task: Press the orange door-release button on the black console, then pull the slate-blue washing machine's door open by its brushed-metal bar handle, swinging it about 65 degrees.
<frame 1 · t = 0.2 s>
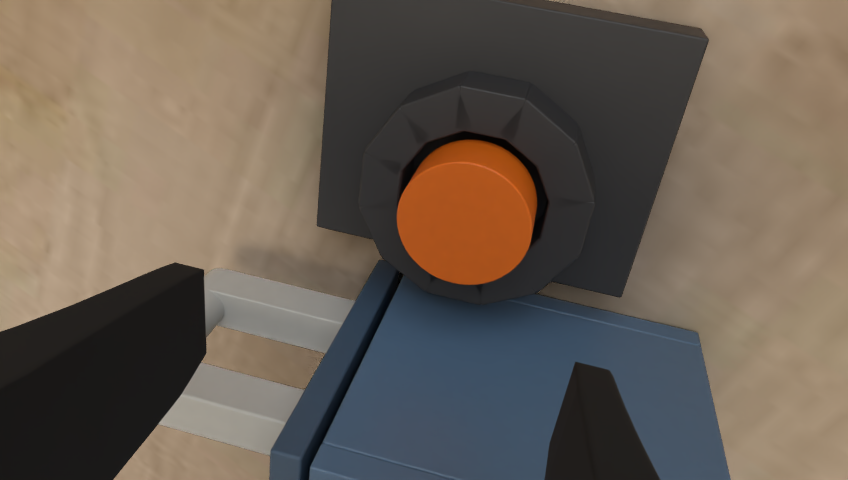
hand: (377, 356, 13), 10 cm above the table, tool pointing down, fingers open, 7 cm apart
washer: (510, 438, 27), on the table
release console: (493, 129, 21), on the table
release button: (468, 212, 19), point 4 cm above the table, slide at 0.1 cm
washer door: (253, 473, 23), point 5 cm above the table, hinge at 0.0°
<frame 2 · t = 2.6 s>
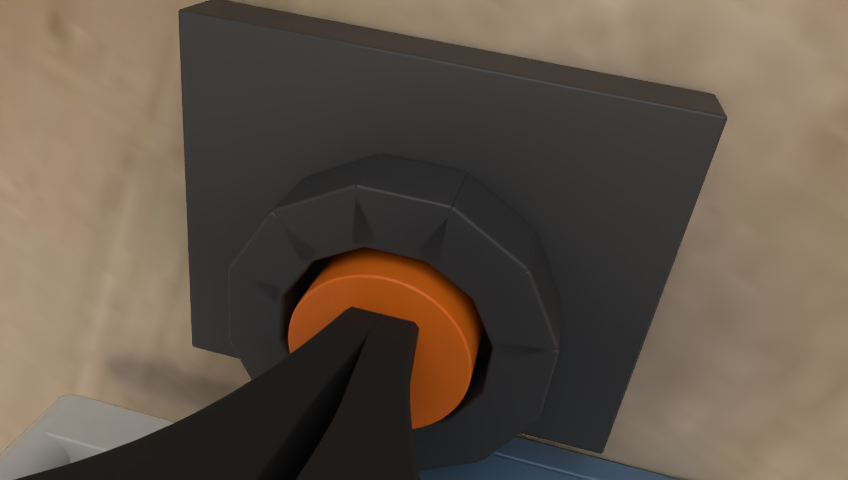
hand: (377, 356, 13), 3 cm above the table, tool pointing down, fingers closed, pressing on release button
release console: (424, 223, 15), on the table
release button: (389, 331, 14), point 3 cm above the table, slide at -0.8 cm, touching gripper
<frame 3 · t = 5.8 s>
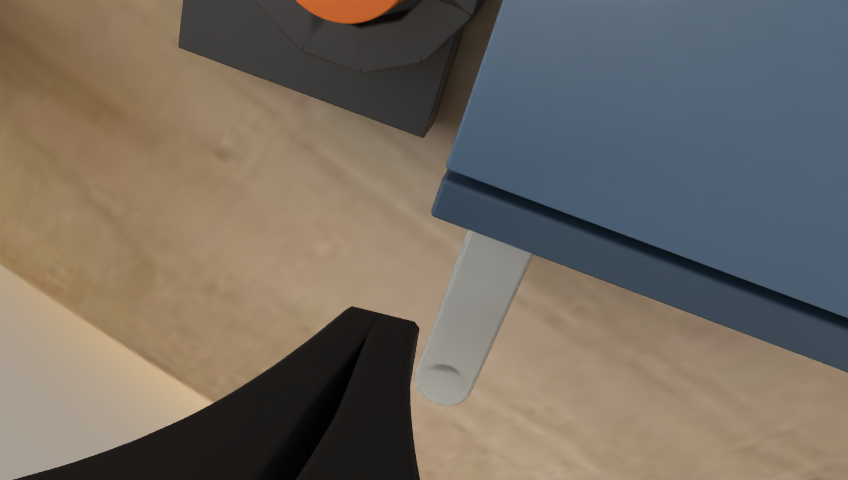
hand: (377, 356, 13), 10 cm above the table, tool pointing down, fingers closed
washer door: (691, 313, 17), point 5 cm above the table, hinge at 0.0°
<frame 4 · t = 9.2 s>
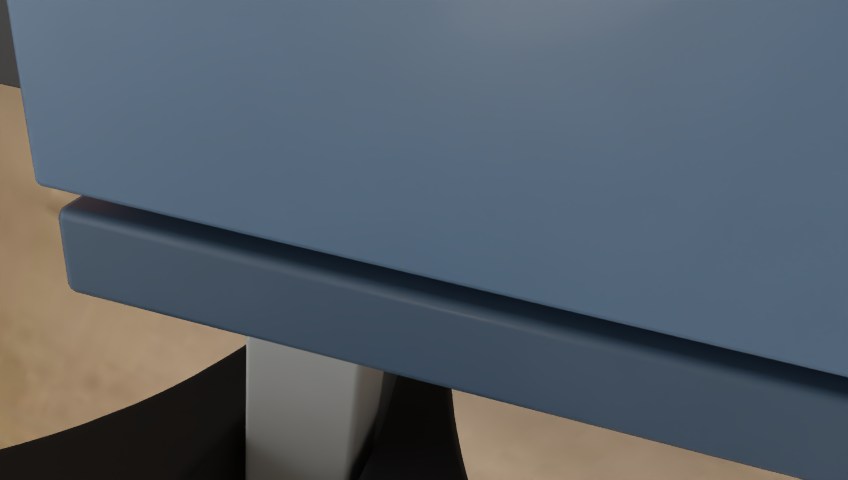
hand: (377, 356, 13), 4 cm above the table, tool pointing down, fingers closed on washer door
washer door: (715, 371, 10), point 5 cm above the table, hinge at 0.0°, touching gripper
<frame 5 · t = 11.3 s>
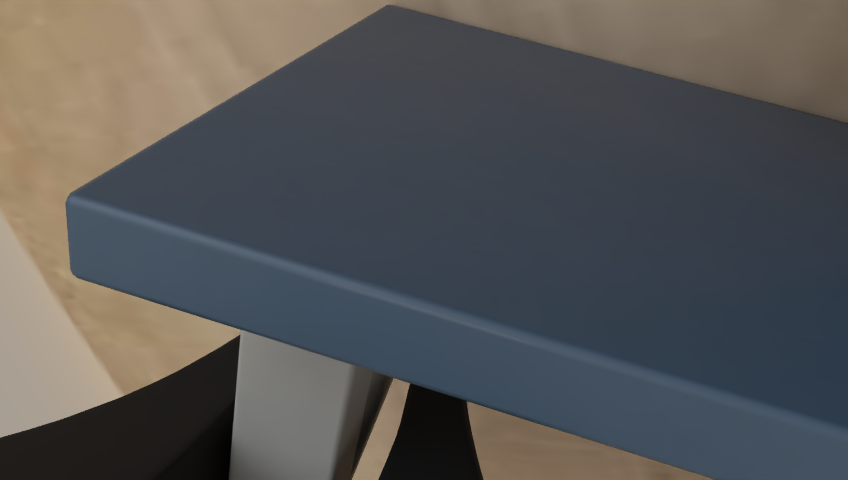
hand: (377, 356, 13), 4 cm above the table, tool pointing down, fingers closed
washer door: (698, 385, 10), point 5 cm above the table, hinge at 38.1°, touching gripper
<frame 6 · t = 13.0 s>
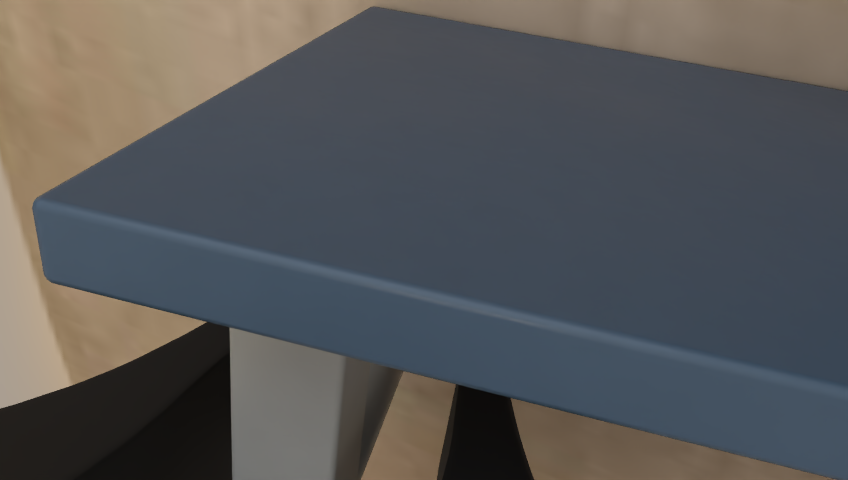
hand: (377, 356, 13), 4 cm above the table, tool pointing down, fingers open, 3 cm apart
washer door: (704, 364, 10), point 5 cm above the table, hinge at 66.4°
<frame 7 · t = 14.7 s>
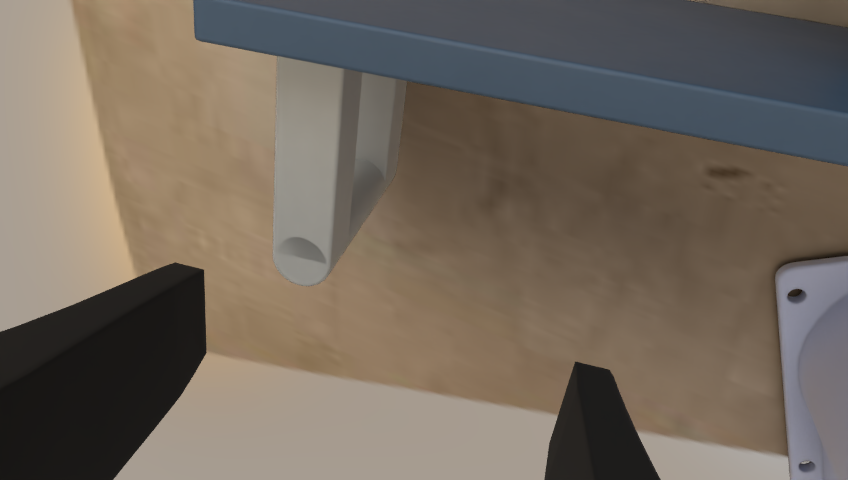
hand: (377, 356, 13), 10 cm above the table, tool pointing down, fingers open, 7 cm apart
washer door: (565, 156, 16), point 5 cm above the table, hinge at 66.4°
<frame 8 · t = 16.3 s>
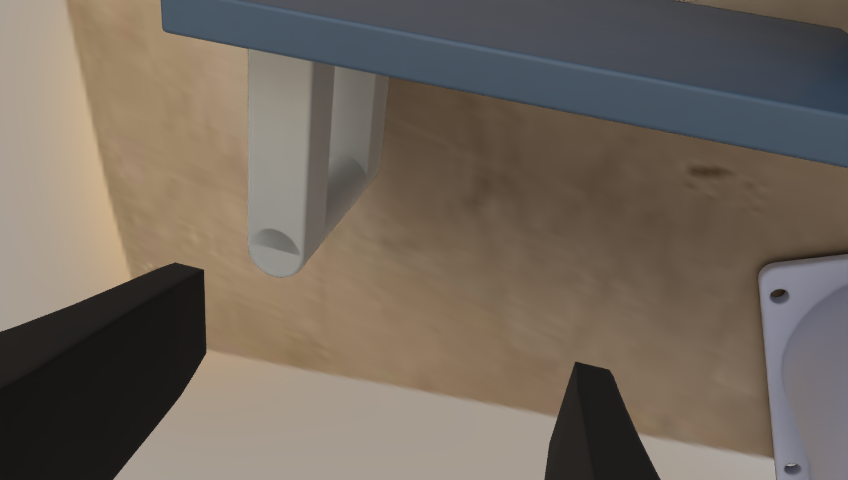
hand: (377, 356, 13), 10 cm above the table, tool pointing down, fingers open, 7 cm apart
washer door: (538, 152, 16), point 5 cm above the table, hinge at 66.4°
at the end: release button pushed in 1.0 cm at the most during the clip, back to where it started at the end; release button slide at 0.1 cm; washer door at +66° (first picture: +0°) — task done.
